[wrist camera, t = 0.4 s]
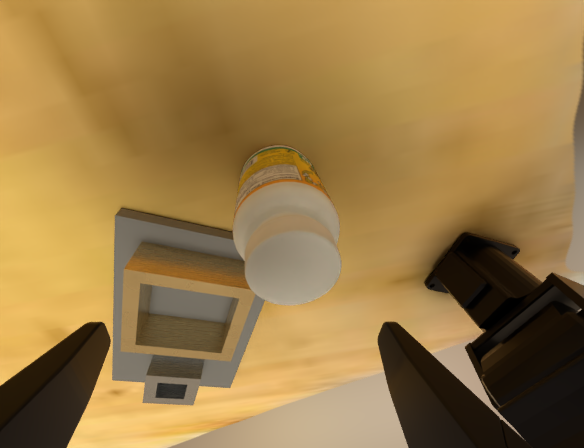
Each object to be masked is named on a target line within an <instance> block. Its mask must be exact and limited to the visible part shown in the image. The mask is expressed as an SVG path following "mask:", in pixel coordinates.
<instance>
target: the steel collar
mask: <svg viewBox="0 0 584 448" xmlns="http://www.w3.org/2000/svg"><path fill="white" fill-rule="evenodd" d="M204 360H205V359H197V358H187V357H176V356H165V355H153V357H152V360H151V363H150V366H149V368H148V371H147V374H146V379H145V388H144V396H143V403H156V404H177V405H194V401H195V398H196V394H197V391H198V388H199V384H200V381H201V376H202V371H203V365H204Z"/></svg>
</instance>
